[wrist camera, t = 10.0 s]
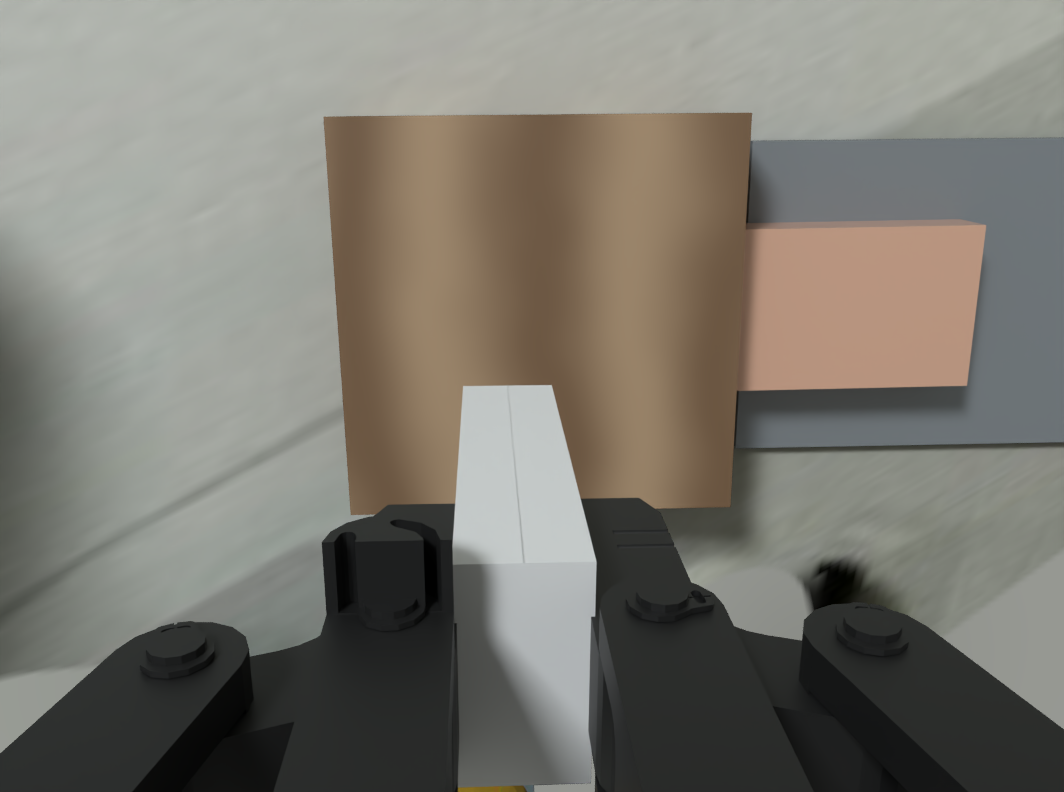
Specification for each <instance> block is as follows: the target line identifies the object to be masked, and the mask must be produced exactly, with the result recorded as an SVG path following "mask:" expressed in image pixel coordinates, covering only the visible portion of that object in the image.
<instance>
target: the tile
mask: <svg viewBox="0 0 1064 792" xmlns="http://www.w3.org/2000/svg"><path fill="white" fill-rule="evenodd" d="M985 232H986V225H984V224H979V223H975V222H971V221H966V220H962V219H944V220H888V221H832V222H777V223H746V230H745V249H744V267H743V285H742V303H741V322H740V340H739V358H738V376H737V391H755V390H799V389H844V388H888V387H932V386H967V381H968V372H969V364H970V356H971V348H972V339H973V331H974V323H975V314H976V306H977V298H978V290H979V281H980V273H981V265H982V257H983V248H984V240H985Z"/></svg>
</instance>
